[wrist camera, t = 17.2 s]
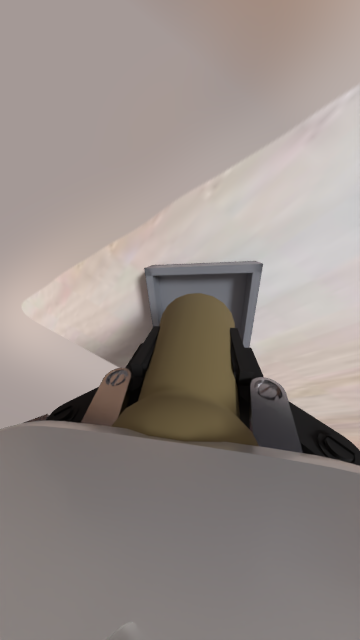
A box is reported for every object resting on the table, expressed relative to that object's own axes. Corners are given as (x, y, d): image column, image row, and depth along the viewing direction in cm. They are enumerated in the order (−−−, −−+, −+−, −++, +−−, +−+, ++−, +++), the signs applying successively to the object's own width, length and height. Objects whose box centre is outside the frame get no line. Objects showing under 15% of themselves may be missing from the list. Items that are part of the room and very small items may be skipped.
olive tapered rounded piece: (146, 315, 13) (-32, 533, 3) (212, 277, 11) (267, 578, 1) (184, 366, 15) (143, 603, 5) (247, 342, 13) (380, 669, 3)
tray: (238, 380, 25) (241, 394, 23) (165, 374, 27) (161, 387, 25) (255, 260, 17) (262, 263, 15) (151, 265, 19) (144, 268, 17)
